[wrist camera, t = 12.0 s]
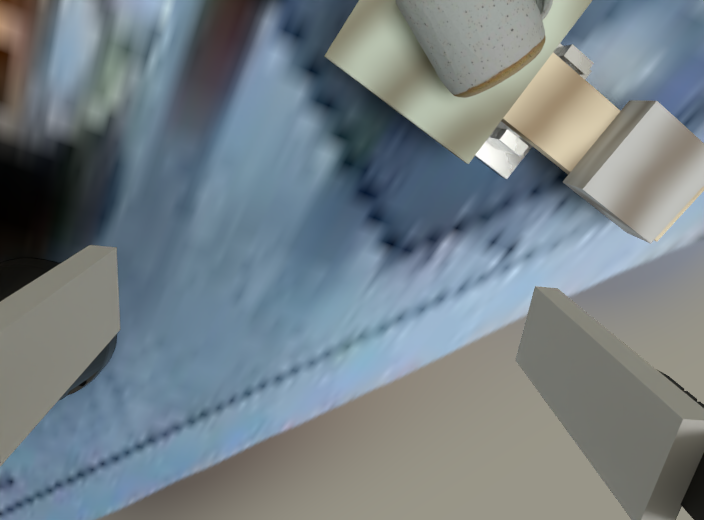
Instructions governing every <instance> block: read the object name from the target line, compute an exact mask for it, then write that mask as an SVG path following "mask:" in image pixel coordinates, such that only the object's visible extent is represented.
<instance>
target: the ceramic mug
mask: <svg viewBox="0 0 704 520" xmlns="http://www.w3.org/2000/svg"><path fill="white" fill-rule="evenodd" d="M395 1H396V4H397V6H398V8H399V10H400V11H401V13H402V15H403V16H404V18H405V20H406V21H407V23H408V25H409V27H410V28H411V30H412V32H413V33H414V35H415V37H416V39H417V40H418V42H419V44H420V46H421V47H422V49H423V50H424V52H425V54H426V55H427V57H428V59H429V61H430V62H431V64H432V66H433V68H434V69H435V71H436V73H437V75H438V77H439V78H440V80H441V81H442V83H443V84H444V85H445V86H446V88H447V89H448V90H449V91H450V92H451V93H452V94H453V95H454V96H457V97H462V98H466V97H471V96H474V95H477V94H479V93H481V92H484V91H486V90H488V89H490V88H492V87H494V86H496V85H497V84H499V83H501V82H503V81H504V80H506V79H507V78H509V77H511V76H512V75H514V74H515V73H517V72H518V71H520V70H521V69H522V68H523V67H525V66H526V65H527V64H529V63H530V62H531V61H532V60H533V59H534V58H536V56H537V55H538V54H539V53H540V52H541V50H542V48H543V46H544V43H545V40H546V37H545V30H544V26H543V19H544V18H545V17H546V16H547V14H548V12H549V10H550V9H551V6H552V3H553V0H536V2H535V0H395Z"/></svg>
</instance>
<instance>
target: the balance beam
mask: <svg viewBox="0 0 704 520" xmlns="http://www.w3.org/2000/svg"><path fill="white" fill-rule="evenodd" d="M591 1H592V0H553V3H552V6H551V9H550V10H549V12H548V14H547V16H546V17H545V18H544V19H543V26H544V30H545V37H546V40H545V43H544V46H543V48H542V50H541V52H540V53H539V54H538V55H537V56H536V58H534V59H533V60H532V61H531V62H530V63H529V64H527V65H526V66H525V67H523V68H522V69H521V70H520V71H518V72H517V73H515V74H514V75H512V76H511V77H509V78H507V79H506V80H504V81H503V82H501V83H499V84H497V85H496V86H494V87H492V88H490V89H488V90H486V91H484V92H481V93H479V94H477V95H474V96H471V97H466V98H462V97H457V96H454V95H453V94H452V93H451V92H450V91H449V90H448V89H447V88H446V86H445V85H444V84H443V83H442V81H441V80H440V78H439V77H438V75H437V73H436V71H435V69H434V68H433V66H432V64H431V62H430V61H429V59H428V57H427V55H426V54H425V52H424V50H423V49H422V47H421V46H420V44H419V42H418V40H417V39H416V37H415V35H414V33H413V32H412V30H411V28H410V27H409V25H408V23H407V21H406V20H405V18H404V16H403V15H402V13H401V11H400V10H399V8H398V6H397V4H396V1H395V0H359V1H358V3H357V5H356V6H355V8H354V9H353V11H352V13H351V14H350V16H349V17H348V19H347V21H346V22H345V24H344V25H343V27H342V29H341V30H340V32H339V33H338V35H337V37H336V38H335V40H334V41H333V43H332V45H331V46H330V48H329V49H328V51H327V53H326V54H325V56H324V57H325V58H327V59H328V60H329V61H331V62H332V63H333V64H335V65H336V66H337V67H339V68H340V69H341V70H343V71H344V72H345V73H347V74H348V75H349V76H351V77H352V78H353V79H355V80H356V81H357V82H359V83H360V84H361V85H363V86H364V87H365V88H367V89H368V90H369V91H371V92H372V93H373V94H375V95H376V96H377V97H379V98H380V99H381V100H383V101H384V102H385V103H387V104H388V105H389V106H391V107H392V108H393V109H395V110H396V111H397V112H399V113H400V114H401V115H403V116H404V117H405V118H407V119H408V120H409V121H411V122H412V123H413V124H415V125H416V126H417V127H418V128H420V129H421V130H422V131H424V132H425V133H426V134H428V135H429V136H430V137H432V138H433V139H434V140H436V141H437V142H438V143H440V144H441V145H442V146H444V147H445V148H446V149H448V150H449V151H450V152H452V153H453V154H454V155H456V156H457V157H458V158H460V159H461V160H462V161H464V162H465V163H467V164H469V163H470V161H471V160H472V159H473V157H474V156H475V155H476V153H477V152H478V151H479V149H480V148H481V147H482V146H483V144H484V143H485V142H486V140H487V139H488V138H489V136H490V135H491V134H492V132H493V131H494V130H495V128H496V127H497V126H498V124H499V123H500V122H501V121H502V122H503V123H504V124H505V125H507V126H508V127H509V128H510V129H512V130H513V131H514V132H515V133H517V134H518V135H519V136H520V137H522V138H523V139H524V140H525V141H527V142H528V143H529V144H530V145H532V146H533V147H534V148H535V149H537V150H538V151H539V152H540V153H542V154H543V155H544V156H545V157H547V158H548V159H549V160H550V161H552V162H553V163H554V164H556V165H557V166H558V167H559V168H561V169H562V170H563V171H564V172H566V173H567V174H568V176H567V177H566V178H565V179H564V181H563V183H564V184H566V185H567V186H568V187H569V188H571V189H572V190H573V191H574V192H576V193H577V194H578V195H580V196H581V197H582V198H583V199H585V200H586V201H587V202H588V203H590V204H591V205H592V206H593V207H595V208H596V209H597V210H599V211H600V212H601V213H602V214H604V215H605V216H606V217H607V218H609V219H610V220H611V221H612V222H614V223H615V224H616V225H618V226H619V227H620V228H621V229H623V230H624V231H625V232H626V233H629V234H631V235H633V236H635V237H638V238H640V239H642V240H644V241H646V242H649V243H652V242H653V241H654V240H655V241H658V240H659V239H660V238H661V237H662V236H663V234H664V233H665V232H666V231H667V230H668V229H669V228H670V227H671V226H672V225H673V224H674V222H675V221H676V220H677V219H678V218H679V217H680V216H681V215H682V214H683V213H684V212H685V210H686V209H687V208H688V207H689V206H690V205H691V204H692V203H693V202H694V201H695V200H696V198H697V197H698V196H699V195H700V194H701V193H702V192H703V191H704V143H703V142H702V141H701V140H699V139H698V138H697V137H696V136H695V135H694V134H693V133H692V132H691V131H690V130H688V129H687V128H686V127H685V126H684V125H683V124H682V123H681V122H680V121H678V120H677V119H676V118H675V117H674V116H673V115H672V114H671V113H670V112H669V111H667V110H666V109H665V108H664V107H663V106H662V105H661V104H660V103H659V102H658V101H629V102H628V103H627V104H626V105H625V107H624V108H623V109H622V110H621V111H620V110H619V109H618V108H617V107H615V106H614V105H613V104H612V103H611V102H610V101H609V100H607V99H606V98H605V97H604V96H603V95H602V94H601V93H599V92H598V91H597V90H596V89H595V88H594V87H593V86H591V85H590V84H589V83H588V82H587V81H586V80H585V79H583V78H582V77H581V76H580V75H579V74H578V73H577V72H575V71H574V70H573V69H572V68H571V67H570V66H569V65H567V64H566V63H565V62H564V61H563V60H562V59H561V58H559V57H558V56H557V55H556V54H555V53H554V50H555V49H556V48H557V46H558V45H559V44H560V42H561V41H562V40H563V38H564V37H565V36H566V34H567V33H568V32H569V31H570V29H571V28H572V27H573V25H574V24H575V23H576V21H577V20H578V19H579V17H580V16H581V15H582V13H583V12H584V11H585V9H586V8H587V7H588V5H589V4H590V3H591ZM535 2H536V0H535Z"/></svg>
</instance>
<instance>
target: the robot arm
mask: <svg viewBox="0 0 704 520" xmlns="http://www.w3.org/2000/svg"><path fill="white" fill-rule="evenodd" d="M119 330H120V314H119V292H118V270H117V248H116V247H105V246H94V245H89V246H88V247H86V248H84V249H83V250H81V251H80V252H78V253H76V254H75V255H73V256H72V257H70V258H69V259H67V260H65V261H64V262H62V263H61V264H58V263H55V262H51V261H48V260H42V259H34V258H21V259H13V260H8V261H5V262H2V263H0V466H1V465H2V464H3V463H4V462H5V461H6V459H7V458H8V457H9V456H10V455H11V454H12V453H13V451H14V450H15V449H16V448H17V447H18V446H19V445H20V443H21V442H22V441H23V440H24V439H25V438H26V437H27V435H28V434H29V433H30V432H31V431H32V430H33V429H34V428H35V426H36V425H37V424H38V423H39V422H40V421H41V420H42V418H43V417H44V416H45V415H46V414H47V413H48V412H49V410H50V409H51V408H52V407H53V406H54V405H55V404H56V402H57V401H59V400H61V399H63V398H64V397H66V396H67V395H70V394H72V393H74V392H76V391H78V390H80V389H82V388H83V387H85V386H86V385H88V384H89V383H90V382H91V381H92V380H94V379H95V378H96V376H97V375H98V374H99V373H100V372H101V371H102V369H103V368H104V367H105V366H106V364H107V363H108V362H109V360H110V358H111V356H112V354H113V352H114V349H115V345H116V338H117V333H118V332H119ZM516 361H517V363H518V364H519V366H520V367H521V368H522V370H523V371H524V372H525V374H526V375H527V376H528V378H529V379H530V381H531V382H532V383H533V385H534V386H535V387H536V389H537V390H538V392H539V393H540V395H541V396H542V397H543V399H544V400H545V401H546V403H547V404H548V405H549V407H550V408H551V410H552V411H553V412H554V414H555V415H556V416H557V418H558V419H559V421H560V422H561V423H562V425H563V426H564V427H565V429H566V430H567V432H568V433H569V434H570V436H571V437H572V438H573V440H574V441H575V443H576V444H577V445H578V447H579V448H580V449H581V451H582V452H583V454H584V455H585V456H586V458H587V459H588V460H589V462H590V463H591V465H592V466H593V467H594V469H595V470H596V471H597V473H598V474H599V475H600V477H601V478H602V480H603V481H604V482H605V484H606V485H607V486H608V488H609V489H610V491H611V492H612V493H613V495H614V496H615V498H616V499H617V500H618V502H619V503H620V504H621V506H622V507H623V508H624V510H625V511H626V513H627V514H628V515H629V517H630V518H631V520H676V518H677V516H678V513H679V511H680V509H681V507H682V506H683V508H684V509H685V510H686V511H687V512H688V513H689V514H690V516H691V517H692V518H693V519H694V520H704V404H702V403H701V402H697V399H696V398H695V397H694V396H693V395H691V394H690V393H689V392H688V391H684V388H682V387H681V386H680V385H679V384H678V383H676V382H675V381H674V380H673V379H671V378H670V377H669V376H667V375H666V374H664V373H662V372H660V371H658V370H657V369H655V368H654V367H653V366H651V365H650V364H649V363H648V362H647V361H645V360H644V359H643V358H642V357H640V356H639V355H638V354H637V353H636V352H634V351H633V350H632V349H631V348H629V347H628V346H627V345H626V344H625V343H623V342H622V341H621V340H620V339H618V338H617V337H616V336H615V335H614V334H612V333H611V332H610V331H609V330H608V329H606V328H605V327H604V326H603V325H601V324H600V323H599V322H598V321H596V320H595V319H594V318H593V317H592V316H590V315H589V314H588V313H587V312H585V311H584V310H583V309H582V308H581V307H579V306H578V305H577V304H575V302H573V301H572V300H571V299H570V298H568V297H567V296H566V295H565V294H564V293H562V292H561V291H560V290H559V289H558V288H547V287H536V286H535V289H534V292H533V296H532V300H531V304H530V307H529V311H528V315H527V319H526V322H525V326H524V330H523V334H522V338H521V341H520V345H519V349H518V353H517V356H516Z"/></svg>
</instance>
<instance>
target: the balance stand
mask: <svg viewBox="0 0 704 520" xmlns="http://www.w3.org/2000/svg"><path fill="white" fill-rule="evenodd" d="M554 53H555V54H556V55H557V56H558V57H559V58H561V59H562V60H563V61H564V62H565V63H566V64H567V65H569V66H570V67H571V68H572V69H573V70H574V71H575V72H577V73H578V74H579V75H580V76H581V77H582V78H583V79H586V78H587V77H588V75H589V74H590V73H591V72H592V71H591V70H590V68H591V66H592V65H593V64H594V63H593V62H592V61H591V60H590V59H588V58H587V57H586V56H585V55H584V54H583V53H582V52H581V51H579V50H578V49H577V48H576V47H575V46H574V45H573V44H571V45H566V46H562V45H561V44H559V45H558V46H557V48H556V49H555V50H554ZM531 148H532V145H530V144H529V143H528V142H527V141H525V140H524V139H523V138H522V137H520V136H519V135H518V134H517V133H515V132H514V131H513V130H512V129H510V128H509V127H508V126H507V125H505V124H504V123H503V122H502V121H501V122H500V123H499V124H498V126H497V127H496V128H495V130H494V131H493V132H492V134H491V135H490V136H489V138H488V139H487V140H486V142H485V143H484V144H483V146H482V147H481V148H480V149H479V151H478V152H477V153H476V155H475V157H477V158H478V159H479V160H481V161H482V162H483V163H484V164H486V165H487V166H488V167H490V168H491V169H492V170H494V171H495V172H496V173H498V174H499V175H500V176H502V177H503V178H505V179H507V178H508V177H509V176H510V174H511V173H512V172H513V171H514V169H515V168H516V167H517V166H518V164H519V163H520V162H521V160H522V159H523V158H524V157H525V155H526V154H527V153H528V152H529V150H530V149H531Z"/></svg>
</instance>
